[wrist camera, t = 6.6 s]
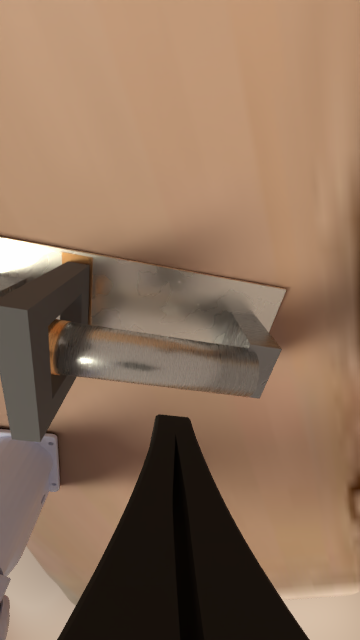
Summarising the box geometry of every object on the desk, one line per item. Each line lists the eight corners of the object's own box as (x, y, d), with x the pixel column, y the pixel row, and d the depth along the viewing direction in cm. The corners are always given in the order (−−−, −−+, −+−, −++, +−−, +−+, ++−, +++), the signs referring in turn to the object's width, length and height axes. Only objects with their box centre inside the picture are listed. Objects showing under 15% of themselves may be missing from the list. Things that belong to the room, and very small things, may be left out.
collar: (89, 265, 16) (27, 310, 9) (87, 357, 19) (40, 442, 12) (67, 261, 15) (-13, 304, 9) (69, 354, 19) (12, 439, 12)
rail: (283, 288, 18) (355, 338, 11) (246, 380, 21) (282, 459, 15) (-32, 230, 15) (-198, 249, 8) (-10, 346, 19) (-111, 424, 12)
